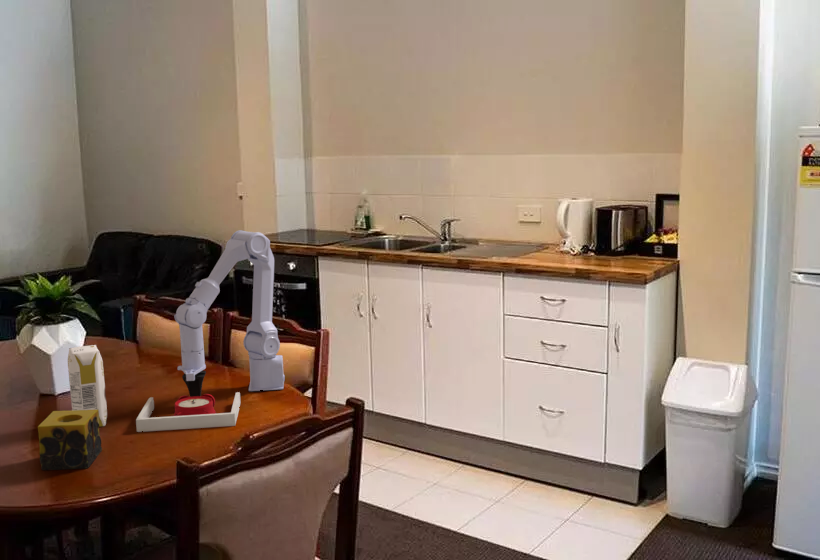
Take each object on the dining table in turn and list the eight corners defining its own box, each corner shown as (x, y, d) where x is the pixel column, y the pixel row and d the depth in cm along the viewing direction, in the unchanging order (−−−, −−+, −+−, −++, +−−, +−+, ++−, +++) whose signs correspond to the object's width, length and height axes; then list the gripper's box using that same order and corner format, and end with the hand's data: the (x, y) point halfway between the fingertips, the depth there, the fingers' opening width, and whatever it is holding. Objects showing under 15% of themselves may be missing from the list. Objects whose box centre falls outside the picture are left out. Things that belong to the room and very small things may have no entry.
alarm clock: (169, 413, 193) (174, 382, 207) (172, 435, 196) (176, 403, 209) (214, 409, 195) (215, 379, 209) (215, 431, 198) (217, 400, 211)
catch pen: (240, 403, 211) (239, 392, 211) (235, 425, 194) (234, 413, 194) (150, 408, 208) (149, 397, 208) (136, 431, 191) (135, 419, 191)
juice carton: (75, 432, 192) (68, 355, 189) (72, 421, 199) (65, 347, 196) (109, 426, 195) (102, 350, 192) (104, 416, 203) (98, 343, 200)
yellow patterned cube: (56, 453, 179) (52, 410, 177) (103, 451, 180) (99, 408, 178) (39, 471, 169) (34, 426, 167) (89, 469, 170) (84, 423, 168)
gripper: (180, 343, 215) (184, 392, 217) (172, 357, 201) (176, 409, 203) (207, 342, 216) (210, 391, 218) (201, 356, 202) (204, 407, 204)
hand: (195, 399), depth 211 cm, fingers closed
